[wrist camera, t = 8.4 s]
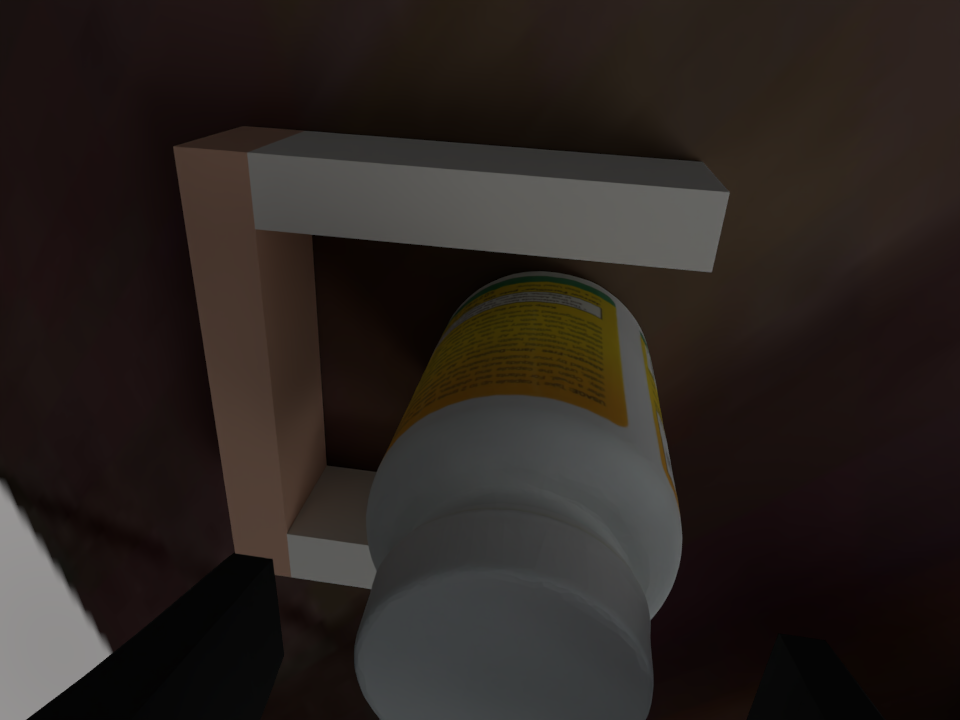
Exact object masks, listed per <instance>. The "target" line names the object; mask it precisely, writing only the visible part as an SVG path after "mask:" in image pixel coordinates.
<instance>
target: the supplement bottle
mask: <svg viewBox="0 0 960 720" xmlns="http://www.w3.org/2000/svg"><path fill="white" fill-rule="evenodd" d="M366 530H367V540H368V546H369V551H370V555H371V558H372V561H373V564H374V566H375V569H376V571H377V572H376V575H375V578H374V581H373V584H372V589H371V593H370V596H369V599H368V602H367V605H366V608H365V611H364V614H363V617H362V620H361V623H360V626H359V629H358V632H357V636H356V641H355V646H354V666H355V671H356V676H357V679H358V682H359V685H360V688H361V690H362V692H363V695H364V697H365V699H366V700H367V702H368V703H369V705H370V706H371V708H372V709H373V711H374V712H375V713H376V715H377V716H378V717H379V718H380V719H381V720H646V718H647V716H648V713H649V710H650V706H651V702H652V694H653V686H654V683H653V665H652V655H651V642H650V633H651V622H650V620H651V619H652V618H653V617H654V615H655V614H656V613H657V612H658V610H659V609H660V608H661V606H662V605H663V603H664V601H665V600H666V598H667V596H668V594H669V593H670V591H671V589H672V586H673V584H674V581H675V578H676V575H677V572H678V568H679V564H680V559H681V551H682V529H681V519H680V512H679V505H678V498H677V493H676V489H675V484H674V479H673V473H672V468H671V462H670V456H669V452H668V446H667V441H666V437H665V432H664V427H663V421H662V416H661V411H660V405H659V399H658V393H657V387H656V381H655V377H654V372H653V367H652V362H651V358H650V354H649V350H648V347H647V343H646V340H645V337H644V335H643V333H642V330H641V328H640V326H639V325H638V323H637V321H636V320H635V318H634V317H633V315H632V314H631V313H630V312H629V310H628V309H627V308H626V307H625V306H624V305H623V304H622V303H621V302H620V301H619V300H618V299H617V298H616V297H614V296H613V295H612V294H611V293H609V292H608V291H606V290H605V289H604V288H602V287H601V286H599V285H597V284H595V283H593V282H591V281H588V280H585V279H582V278H579V277H575V276H571V275H567V274H562V273H556V272H545V271H532V272H522V273H517V274H512V275H509V276H505V277H502V278H500V279H497V280H495V281H493V282H491V283H489V284H487V285H485V286H483V287H482V288H480V289H479V290H477V291H476V292H474V293H473V294H472V295H471V296H470V297H468V298H467V299H466V300H465V301H464V302H463V303H462V304H461V305H460V307H459V308H458V309H457V310H456V312H455V313H454V314H453V316H452V317H451V319H450V321H449V323H448V325H447V327H446V328H445V330H444V332H443V334H442V336H441V338H440V340H439V343H438V344H437V346H436V348H435V350H434V352H433V354H432V356H431V358H430V361H429V363H428V365H427V367H426V370H425V371H424V373H423V375H422V378H421V380H420V382H419V384H418V386H417V388H416V390H415V392H414V395H413V397H412V399H411V401H410V403H409V405H408V407H407V409H406V411H405V414H404V416H403V418H402V420H401V422H400V424H399V426H398V428H397V430H396V432H395V435H394V437H393V439H392V441H391V443H390V445H389V447H388V449H387V451H386V453H385V455H384V457H383V459H382V461H381V463H380V466H379V468H378V470H377V473H376V475H375V478H374V480H373V483H372V486H371V490H370V494H369V498H368V504H367V513H366Z"/></svg>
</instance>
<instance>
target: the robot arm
mask: <svg viewBox="0 0 960 720" xmlns="http://www.w3.org/2000/svg"><path fill="white" fill-rule="evenodd" d="M283 657H284V650H283V641H282V633H281V625H280V616H279V608H278V599H277V591H276V582H275V574H274V565H273V559H270V558H263V557H256V556H250V555H243V554H236V553H233V554H232V555H231V556H229V557H228V558H227V559H225V560H224V561H223V562H222V563H221V564H219V565H218V566H217V567H216V568H214V569H213V570H212V571H211V572H210V573H208V574H207V575H206V576H205V577H204V578H203V579H201V580H200V581H199V582H198V583H197V584H196V585H194V586H193V587H192V588H191V589H190V590H188V591H187V592H186V593H185V594H184V595H183V596H181V597H180V598H179V599H178V600H177V601H175V602H174V603H173V604H172V605H171V606H170V607H168V608H167V609H166V610H165V611H164V612H162V613H161V614H160V615H159V616H158V617H156V618H155V619H154V620H153V621H152V622H150V623H149V624H148V625H147V626H146V627H144V628H143V629H142V630H141V631H139V632H138V633H137V634H136V635H135V636H133V637H132V638H131V639H130V640H128V641H127V642H126V643H125V644H123V645H122V646H121V647H120V648H118V649H117V650H116V651H115V652H114V653H112V654H111V655H110V656H109V657H107V658H106V659H105V660H104V661H102V662H101V663H100V664H99V665H97V666H96V667H95V668H94V669H93V670H91V671H90V672H89V673H87V674H86V675H85V676H84V677H82V678H81V679H80V680H78V681H77V682H76V683H75V684H73V685H72V686H70V687H69V688H68V689H66V690H65V691H64V692H62V693H61V694H60V695H58V696H57V697H56V698H55V699H53V700H52V701H50V702H49V703H48V704H46V705H45V706H44V707H43V708H41V709H40V710H39V711H37V712H36V713H35V714H33V715H32V716H31V717H29V718H28V719H27V720H260V719H261V716H262V714H263V711H264V708H265V706H266V703H267V701H268V698H269V695H270V693H271V690H272V687H273V684H274V682H275V679H276V676H277V673H278V670H279V668H280V665H281V662H282V659H283ZM747 720H885V719H884V718H883V716H882V715H881V714H880V712H879V711H878V710H877V708H876V707H875V706H874V704H873V703H872V702H871V700H870V699H869V698H868V696H867V695H866V694H865V692H864V691H863V690H862V688H861V687H860V686H859V684H858V683H857V682H856V680H855V679H854V678H853V676H852V675H851V674H850V672H849V671H848V670H847V668H846V667H845V666H844V664H843V663H842V662H841V660H840V659H839V658H838V656H837V655H836V654H835V652H834V651H833V650H832V649H831V647H830V646H829V645H828V643H827V642H826V641H825V640H819V639H813V638H806V637H799V636H792V635H785V634H779V633H778V636H777V639H776V642H775V644H774V647H773V650H772V652H771V655H770V658H769V661H768V663H767V666H766V669H765V671H764V674H763V677H762V680H761V682H760V685H759V688H758V690H757V693H756V696H755V699H754V701H753V704H752V707H751V709H750V712H749V715H748V718H747Z"/></svg>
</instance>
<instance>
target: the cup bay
mask: <svg viewBox="0 0 960 720" xmlns="http://www.w3.org/2000/svg"><path fill="white" fill-rule="evenodd" d="M173 149H174V156H175V162H176V169H177V175H178V182H179V188H180V195H181V201H182V208H183V214H184V221H185V228H186V234H187V241H188V247H189V254H190V260H191V267H192V273H193V280H194V286H195V293H196V299H197V306H198V313H199V319H200V326H201V332H202V339H203V345H204V352H205V358H206V365H207V371H208V378H209V385H210V391H211V398H212V404H213V411H214V417H215V424H216V430H217V437H218V443H219V450H220V456H221V463H222V470H223V476H224V483H225V489H226V496H227V502H228V509H229V515H230V522H231V528H232V535H233V541H234V548H235V553H236V554H243V555H250V556H256V557H263V558H270V559H273V565H274V574H275V575H280V576H287V577H293V578H300V579H307V580H314V581H321V582H327V583H334V584H341V585H348V586H354V587H361V588H368V589H372V584H373V581H374V578H375V575H376V572H377V571H376V569H375V566H374V564H373V561H372V558H371V555H370V551H369V546H368V540H367V530H366V513H367V504H368V498H369V494H370V490H371V486H372V483H373V480H374V478H375V475H376V473H377V472H373V471H365V470H358V469H350V468H342V467H334V466H327V462H326V446H325V431H324V415H323V399H322V384H321V368H320V353H319V337H318V322H317V306H316V291H315V275H314V259H313V244H312V235H321V236H332V237H343V238H353V239H364V240H374V241H385V242H396V243H406V244H417V245H427V246H438V247H449V248H459V249H470V250H480V251H491V252H502V253H512V254H523V255H533V256H544V257H554V258H565V259H576V260H586V261H597V262H607V263H618V264H629V265H639V266H650V267H660V268H671V269H682V270H692V271H703V272H712V269H713V265H714V260H715V256H716V251H717V247H718V242H719V238H720V233H721V229H722V224H723V220H724V216H725V211H726V207H727V202H728V198H729V193H730V192H729V191H728V190H727V189H726V188H725V187H724V185H723V184H722V183H721V182H720V181H719V180H718V179H717V178H716V176H715V175H714V174H713V173H712V172H711V171H710V170H709V169H708V167H707V166H706V165H705V164H704V163H703V162H697V161H684V160H672V159H659V158H646V157H633V156H621V155H608V154H595V153H583V152H570V151H557V150H544V149H532V148H519V147H506V146H493V145H481V144H468V143H455V142H442V141H430V140H417V139H404V138H391V137H379V136H366V135H353V134H340V133H328V132H315V131H302V130H289V129H277V128H264V127H251V126H241V127H238V128H234V129H231V130H228V131H224V132H221V133H217V134H214V135H210V136H207V137H204V138H200V139H197V140H193V141H190V142H187V143H183V144H180V145H176V146H173Z"/></svg>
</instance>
